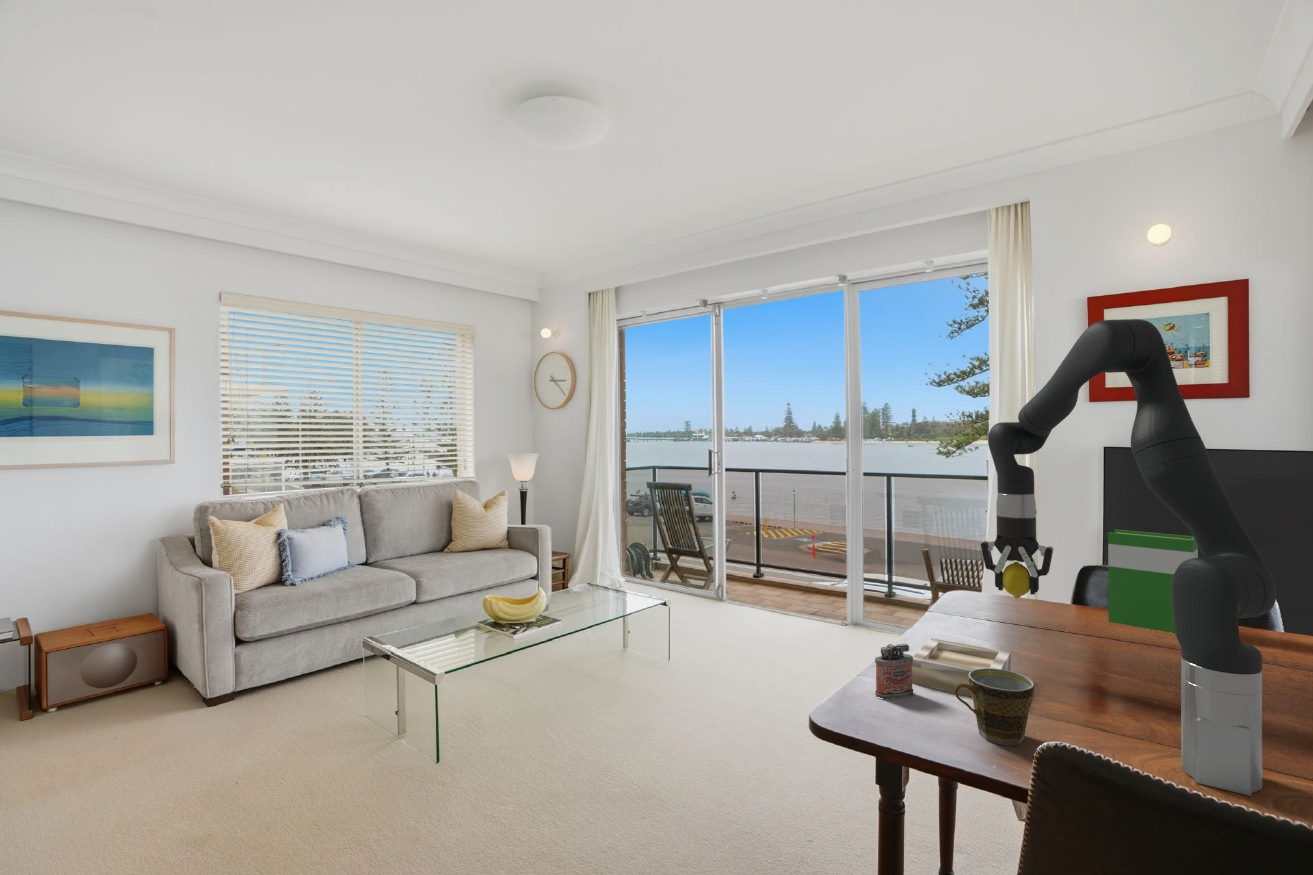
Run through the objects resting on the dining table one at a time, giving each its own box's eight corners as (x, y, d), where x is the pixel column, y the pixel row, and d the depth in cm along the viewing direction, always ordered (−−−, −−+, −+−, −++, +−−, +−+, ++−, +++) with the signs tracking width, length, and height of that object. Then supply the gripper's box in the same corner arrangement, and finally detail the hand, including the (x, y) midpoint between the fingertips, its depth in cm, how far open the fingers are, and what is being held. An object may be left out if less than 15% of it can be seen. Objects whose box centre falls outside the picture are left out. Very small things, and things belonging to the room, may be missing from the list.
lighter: (881, 701, 127) (881, 650, 126) (871, 694, 130) (871, 644, 130) (917, 695, 129) (916, 645, 129) (906, 689, 132) (905, 640, 132)
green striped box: (1108, 621, 174) (1108, 532, 174) (1115, 616, 180) (1115, 529, 179) (1192, 636, 162) (1192, 540, 161) (1197, 630, 167) (1197, 536, 166)
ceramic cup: (1012, 722, 117) (1012, 667, 116) (1048, 750, 107) (1047, 690, 106) (941, 724, 116) (941, 669, 116) (970, 752, 106) (969, 692, 106)
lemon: (1035, 602, 138) (1034, 564, 138) (1006, 601, 139) (1006, 563, 139) (1026, 595, 143) (1026, 559, 143) (999, 594, 144) (998, 558, 144)
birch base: (997, 704, 125) (996, 675, 125) (911, 685, 135) (911, 658, 135) (1010, 678, 138) (1010, 652, 138) (931, 662, 148) (931, 638, 148)
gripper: (975, 513, 142) (976, 590, 142) (1052, 518, 133) (1052, 600, 133) (983, 510, 148) (984, 584, 148) (1056, 514, 139) (1057, 593, 139)
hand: (1016, 591), depth 141 cm, fingers closed on lemon, 5 cm apart
